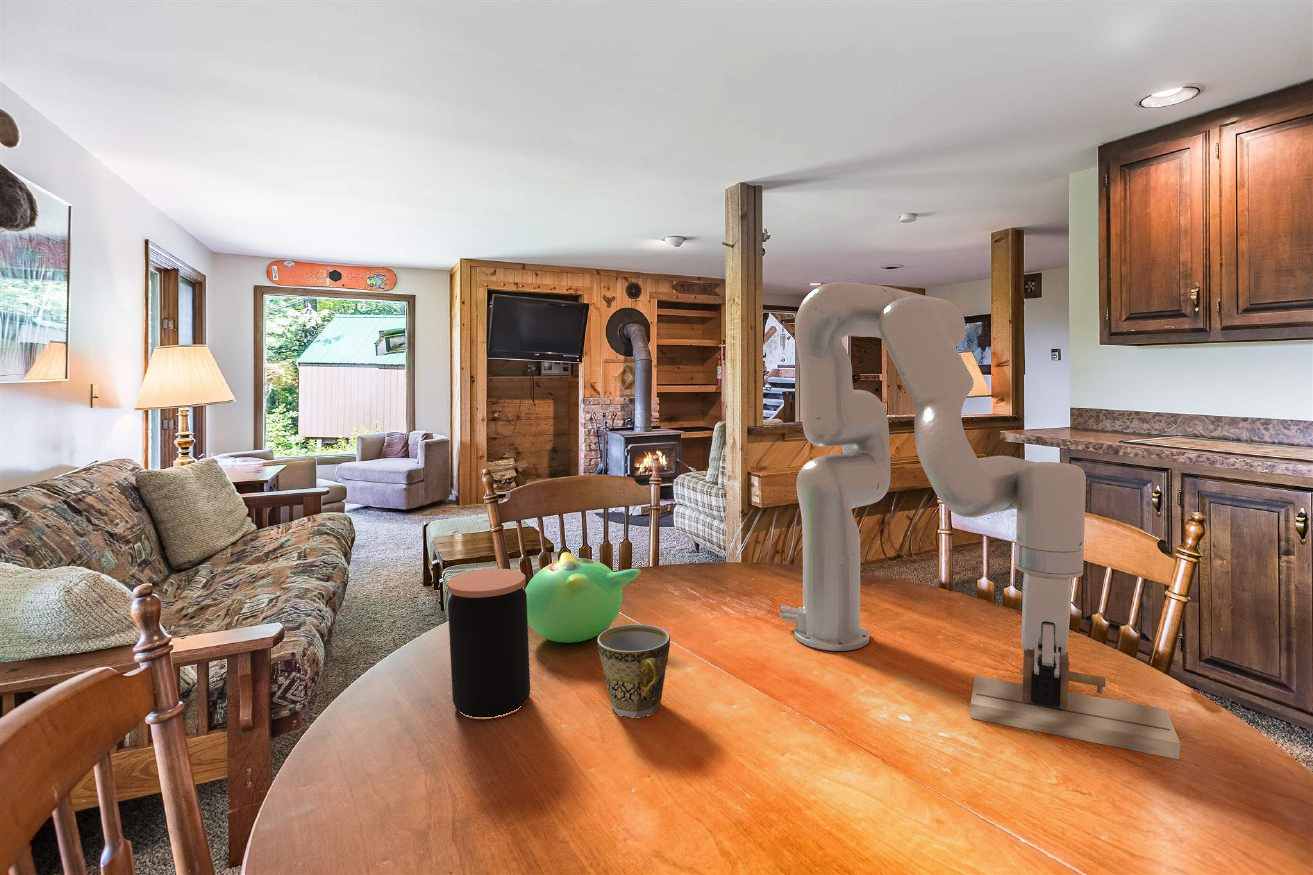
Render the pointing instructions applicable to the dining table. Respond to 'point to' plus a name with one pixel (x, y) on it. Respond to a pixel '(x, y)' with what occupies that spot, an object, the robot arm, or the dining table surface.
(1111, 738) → the board
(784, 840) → the dining table surface
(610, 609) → the plump green bird figurine
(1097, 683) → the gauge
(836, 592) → the robot arm
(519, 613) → the coffee jar
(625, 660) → the ceramic cup
